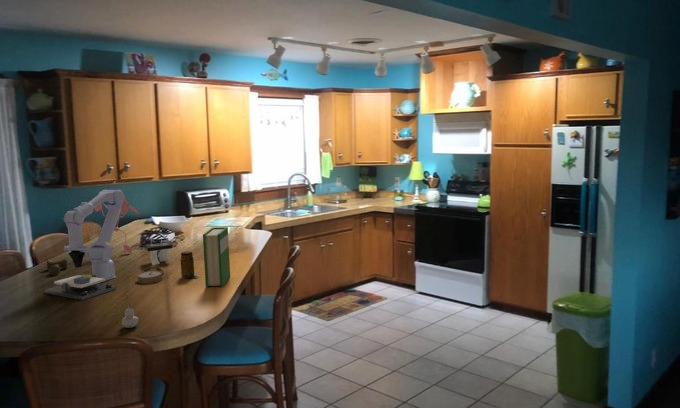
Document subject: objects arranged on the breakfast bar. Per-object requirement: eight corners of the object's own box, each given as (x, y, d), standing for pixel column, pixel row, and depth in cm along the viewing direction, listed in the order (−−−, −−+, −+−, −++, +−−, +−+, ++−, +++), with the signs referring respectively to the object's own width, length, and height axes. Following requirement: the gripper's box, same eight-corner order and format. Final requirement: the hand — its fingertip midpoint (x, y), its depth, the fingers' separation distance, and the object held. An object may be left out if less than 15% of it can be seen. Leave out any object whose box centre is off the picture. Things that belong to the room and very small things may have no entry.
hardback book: (222, 287, 238) (219, 234, 234) (205, 287, 237) (202, 234, 234) (230, 276, 255) (227, 227, 252) (214, 277, 255) (212, 227, 252)
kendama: (43, 277, 263) (49, 267, 282) (65, 276, 267) (69, 266, 285) (42, 266, 262) (48, 256, 281) (64, 264, 266) (69, 255, 284)
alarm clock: (133, 278, 245) (142, 265, 260) (135, 288, 247) (144, 274, 261) (158, 277, 246) (166, 264, 260) (159, 287, 248) (167, 273, 262)
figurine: (138, 255, 305) (134, 194, 301) (93, 256, 306) (88, 195, 302) (148, 250, 320) (144, 192, 317) (105, 251, 321) (101, 193, 317)
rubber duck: (120, 330, 187) (118, 308, 186) (124, 324, 193) (123, 302, 192) (136, 329, 188) (135, 307, 187) (140, 322, 194) (138, 301, 193)
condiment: (183, 275, 260) (181, 250, 259) (200, 274, 260) (199, 250, 258) (178, 279, 253) (177, 254, 251) (196, 278, 253) (195, 253, 251)
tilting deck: (54, 283, 235) (53, 277, 234) (78, 277, 245) (78, 270, 245) (81, 288, 226) (80, 281, 226) (105, 280, 237) (104, 274, 236)
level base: (44, 293, 235) (43, 280, 234) (79, 283, 250) (78, 271, 249) (82, 300, 223) (81, 287, 222) (116, 289, 238) (115, 277, 237)
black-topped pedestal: (134, 272, 269) (132, 246, 267) (131, 261, 293) (129, 237, 291) (191, 265, 280) (189, 240, 279) (184, 255, 304) (182, 232, 302)
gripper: (56, 238, 239) (59, 267, 241) (78, 240, 233) (81, 270, 235) (70, 235, 246) (73, 264, 247) (92, 237, 239) (95, 266, 241)
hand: (78, 267), depth 241 cm, fingers closed
